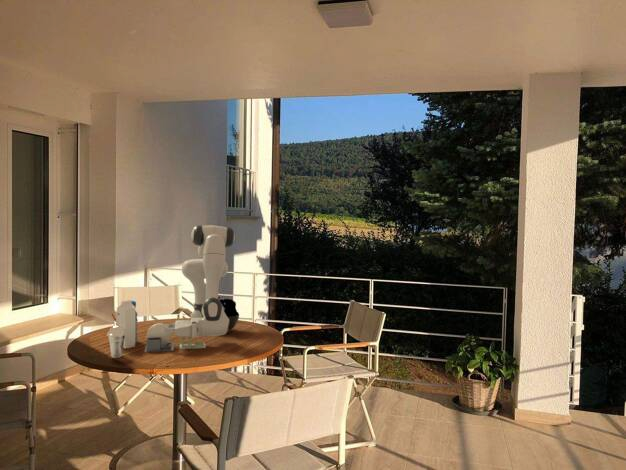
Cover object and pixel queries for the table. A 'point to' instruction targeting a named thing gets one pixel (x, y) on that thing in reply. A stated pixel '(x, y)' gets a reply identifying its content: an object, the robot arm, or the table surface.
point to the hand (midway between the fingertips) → (164, 328)
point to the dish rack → (157, 345)
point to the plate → (159, 333)
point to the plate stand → (191, 346)
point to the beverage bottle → (135, 320)
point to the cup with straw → (116, 339)
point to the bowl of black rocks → (230, 311)
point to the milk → (127, 322)
